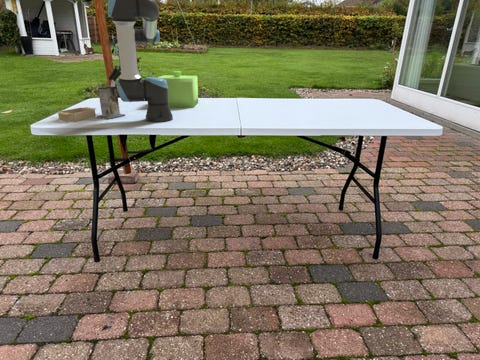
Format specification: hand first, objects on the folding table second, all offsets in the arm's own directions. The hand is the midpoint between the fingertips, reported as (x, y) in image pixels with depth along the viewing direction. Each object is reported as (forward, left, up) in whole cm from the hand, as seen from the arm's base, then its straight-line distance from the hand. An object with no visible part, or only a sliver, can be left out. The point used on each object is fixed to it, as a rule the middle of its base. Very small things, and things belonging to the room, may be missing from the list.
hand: (120, 89), depth 210 cm
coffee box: (-2, +12, -13) cm, 18 cm away
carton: (+10, +25, -14) cm, 30 cm away
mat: (-3, +12, -14) cm, 19 cm away
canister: (-10, -43, -15) cm, 47 cm away
